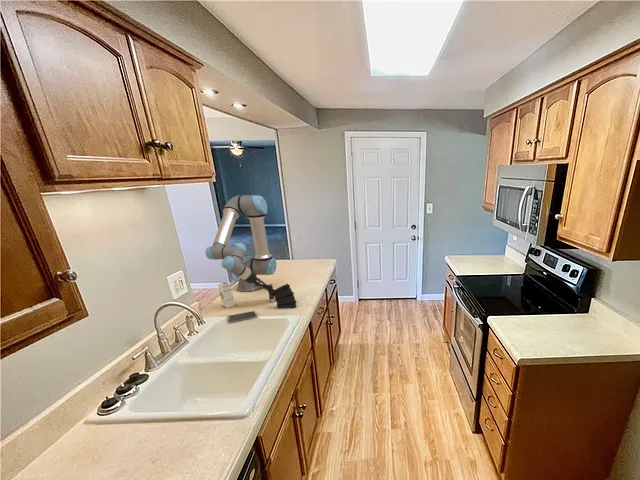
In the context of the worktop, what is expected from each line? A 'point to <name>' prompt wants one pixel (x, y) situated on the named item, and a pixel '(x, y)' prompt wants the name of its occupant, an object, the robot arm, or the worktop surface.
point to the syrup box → (226, 294)
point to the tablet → (242, 316)
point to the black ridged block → (284, 297)
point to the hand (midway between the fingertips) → (277, 294)
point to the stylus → (271, 293)
